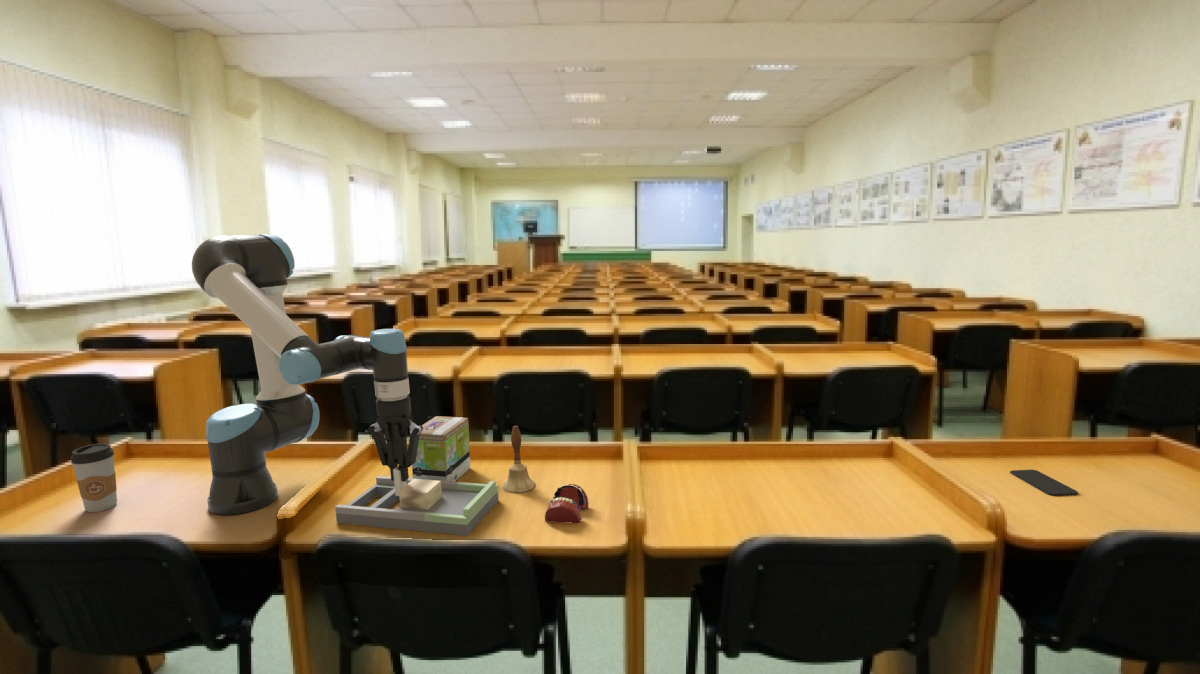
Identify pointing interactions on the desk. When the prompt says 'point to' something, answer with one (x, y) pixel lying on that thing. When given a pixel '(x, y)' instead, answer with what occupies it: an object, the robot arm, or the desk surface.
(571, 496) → the teeth model
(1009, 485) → the desk surface
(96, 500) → the coffee cup
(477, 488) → the lane deck
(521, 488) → the hand bell
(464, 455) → the tea box
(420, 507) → the block
